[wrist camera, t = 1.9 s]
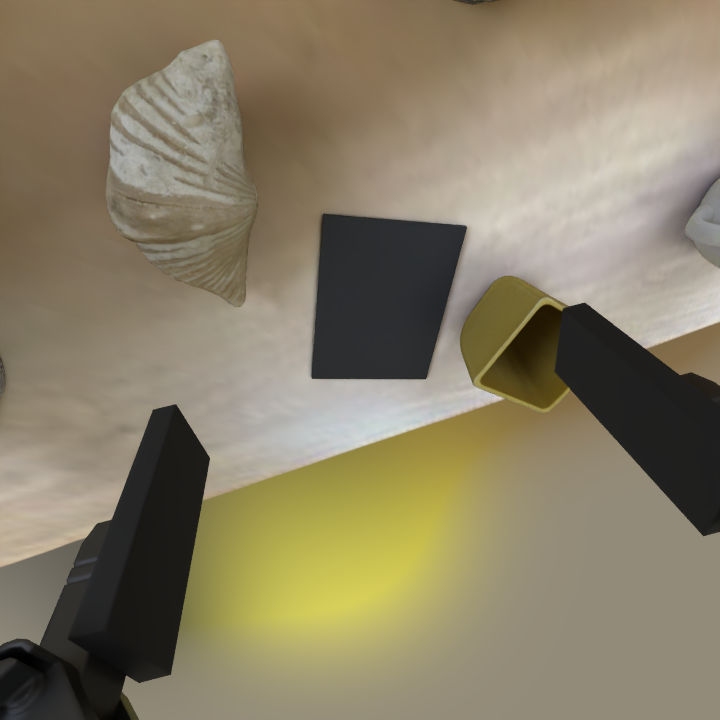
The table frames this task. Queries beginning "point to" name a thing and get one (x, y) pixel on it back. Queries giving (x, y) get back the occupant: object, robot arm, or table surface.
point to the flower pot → (515, 344)
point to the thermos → (474, 1)
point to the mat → (381, 296)
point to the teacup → (707, 225)
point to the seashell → (184, 172)
